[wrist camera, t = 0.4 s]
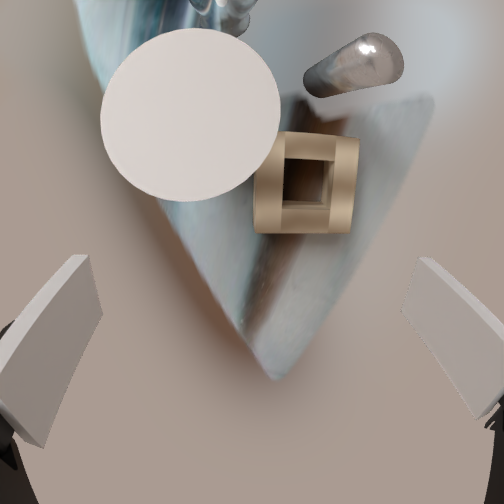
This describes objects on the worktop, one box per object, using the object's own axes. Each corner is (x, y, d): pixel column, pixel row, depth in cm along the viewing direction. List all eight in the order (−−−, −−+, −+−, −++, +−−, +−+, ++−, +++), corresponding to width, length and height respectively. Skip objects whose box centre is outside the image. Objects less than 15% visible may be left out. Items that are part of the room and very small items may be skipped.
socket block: (254, 130, 33) (258, 130, 30) (347, 136, 34) (359, 138, 30) (252, 222, 38) (255, 233, 35) (339, 223, 39) (349, 233, 35)
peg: (303, 63, 30) (354, 26, 15) (336, 68, 30) (402, 41, 16) (302, 95, 32) (354, 77, 17) (335, 99, 32) (404, 89, 17)
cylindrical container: (235, 87, 31) (248, 7, 8) (253, 140, 34) (302, 169, 11) (179, 106, 31) (81, 73, 8) (197, 158, 34) (136, 225, 11)
